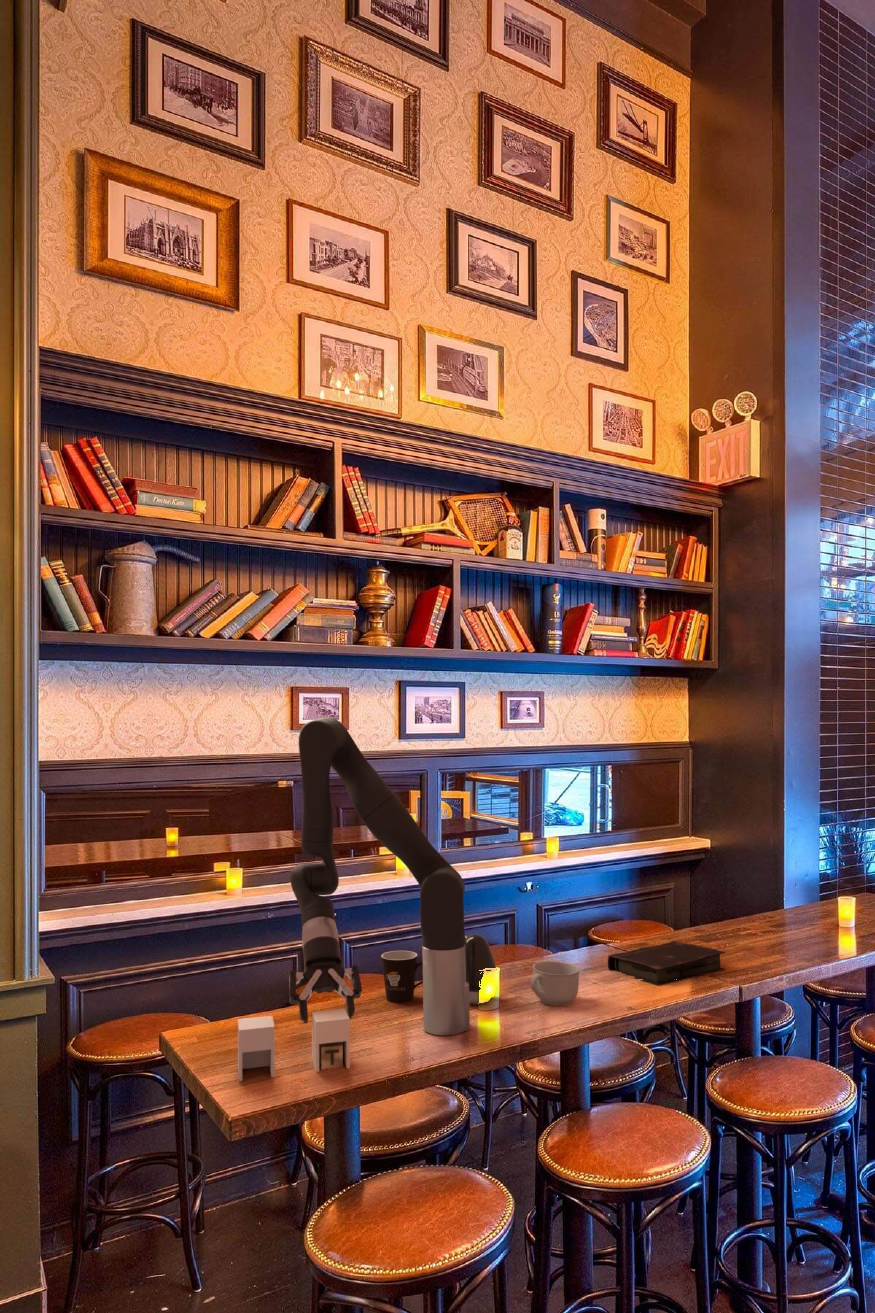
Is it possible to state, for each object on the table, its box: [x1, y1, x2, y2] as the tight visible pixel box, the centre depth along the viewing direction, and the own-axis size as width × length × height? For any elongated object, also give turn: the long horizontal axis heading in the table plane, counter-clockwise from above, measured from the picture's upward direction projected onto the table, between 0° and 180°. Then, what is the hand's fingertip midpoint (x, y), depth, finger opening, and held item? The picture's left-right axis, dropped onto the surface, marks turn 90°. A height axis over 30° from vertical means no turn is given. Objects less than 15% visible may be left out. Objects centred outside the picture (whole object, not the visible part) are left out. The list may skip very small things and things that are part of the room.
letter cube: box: [319, 1042, 344, 1070], centre depth 162 cm, size 4×4×4 cm
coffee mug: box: [380, 950, 423, 1004], centre depth 201 cm, size 12×9×10 cm
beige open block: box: [311, 1007, 351, 1073], centre depth 163 cm, size 6×6×9 cm
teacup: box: [529, 960, 580, 1007], centre depth 197 cm, size 14×11×8 cm
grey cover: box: [237, 1015, 276, 1082], centre depth 159 cm, size 6×6×9 cm
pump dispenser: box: [465, 933, 497, 1005], centre depth 200 cm, size 10×10×15 cm
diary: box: [607, 940, 727, 986], centre depth 222 cm, size 19×25×5 cm
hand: (328, 1019), depth 165 cm, fingers open, 8 cm apart
